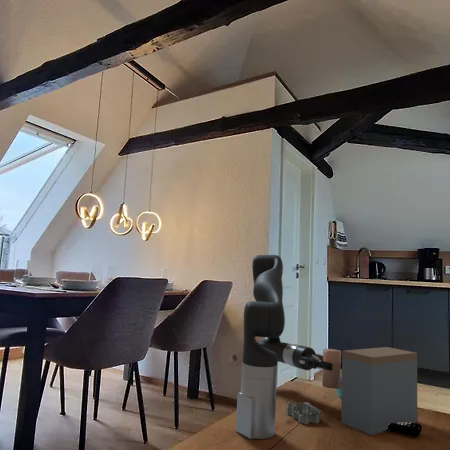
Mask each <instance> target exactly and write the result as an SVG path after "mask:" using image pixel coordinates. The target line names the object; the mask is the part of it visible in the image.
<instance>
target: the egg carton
mask: <svg viewBox="0 0 450 450" xmlns="http://www.w3.org/2000/svg"><path fill="white" fill-rule="evenodd" d="M285 402H286V403H288V405H287V406H286V409H285V411H286V415H288V416H291V418H292V419H294V420H297V422H298V423H299V424H305V425H309V424H310V423H314V424H319V423H320V422H321V413H322V410H321V409H319V408H317V406H313V405H311V403H310V402H307V401H306V402H299V403H297V402H295V403H294V404H292V402H291V401H288V399H285Z"/></svg>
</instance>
